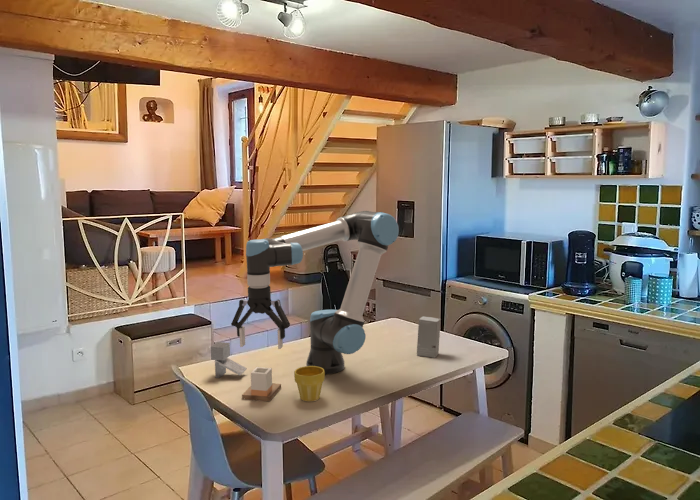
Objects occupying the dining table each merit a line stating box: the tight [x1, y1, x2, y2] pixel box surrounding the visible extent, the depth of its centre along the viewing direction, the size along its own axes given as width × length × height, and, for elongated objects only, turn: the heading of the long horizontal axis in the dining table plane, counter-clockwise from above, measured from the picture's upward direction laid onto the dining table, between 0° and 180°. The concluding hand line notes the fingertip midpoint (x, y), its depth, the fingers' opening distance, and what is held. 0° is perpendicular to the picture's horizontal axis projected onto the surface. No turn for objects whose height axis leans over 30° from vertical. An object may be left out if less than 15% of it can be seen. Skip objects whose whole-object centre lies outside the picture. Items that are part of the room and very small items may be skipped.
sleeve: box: [250, 366, 273, 396], centre depth 192 cm, size 6×6×8 cm
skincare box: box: [416, 316, 442, 359], centre depth 235 cm, size 8×7×16 cm
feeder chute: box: [210, 341, 247, 379], centre depth 211 cm, size 12×6×12 cm, turn 78°
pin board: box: [241, 382, 282, 402], centre depth 195 cm, size 10×12×6 cm
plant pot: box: [293, 366, 326, 403], centre depth 191 cm, size 10×10×10 cm
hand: (261, 346), depth 190 cm, fingers open, 13 cm apart
